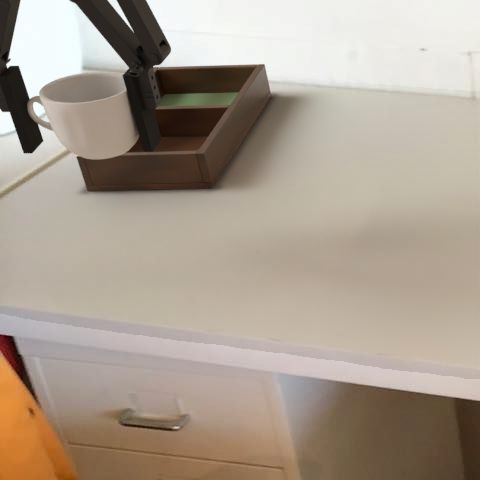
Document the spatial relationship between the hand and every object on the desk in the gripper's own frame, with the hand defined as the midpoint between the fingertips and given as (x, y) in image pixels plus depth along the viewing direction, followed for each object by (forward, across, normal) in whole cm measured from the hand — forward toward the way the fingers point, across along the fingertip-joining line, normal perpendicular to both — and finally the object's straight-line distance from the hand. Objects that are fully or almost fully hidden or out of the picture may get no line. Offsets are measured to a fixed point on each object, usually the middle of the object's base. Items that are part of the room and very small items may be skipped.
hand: (93, 146), depth 114 cm
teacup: (0, 0, 0) cm, 0 cm away
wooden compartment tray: (+11, +3, -28) cm, 30 cm away
